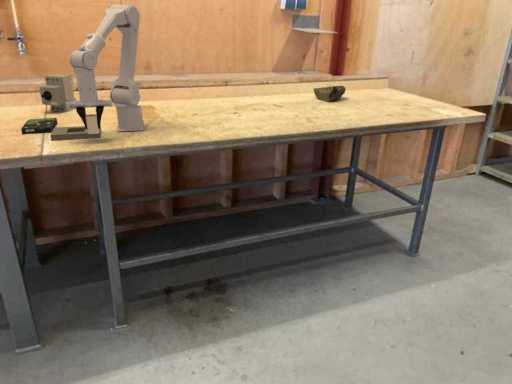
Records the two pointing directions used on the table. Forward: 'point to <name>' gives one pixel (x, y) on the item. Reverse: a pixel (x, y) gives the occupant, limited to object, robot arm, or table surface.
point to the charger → (92, 124)
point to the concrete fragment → (329, 93)
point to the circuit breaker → (57, 92)
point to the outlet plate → (72, 133)
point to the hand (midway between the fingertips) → (93, 128)
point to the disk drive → (39, 126)
